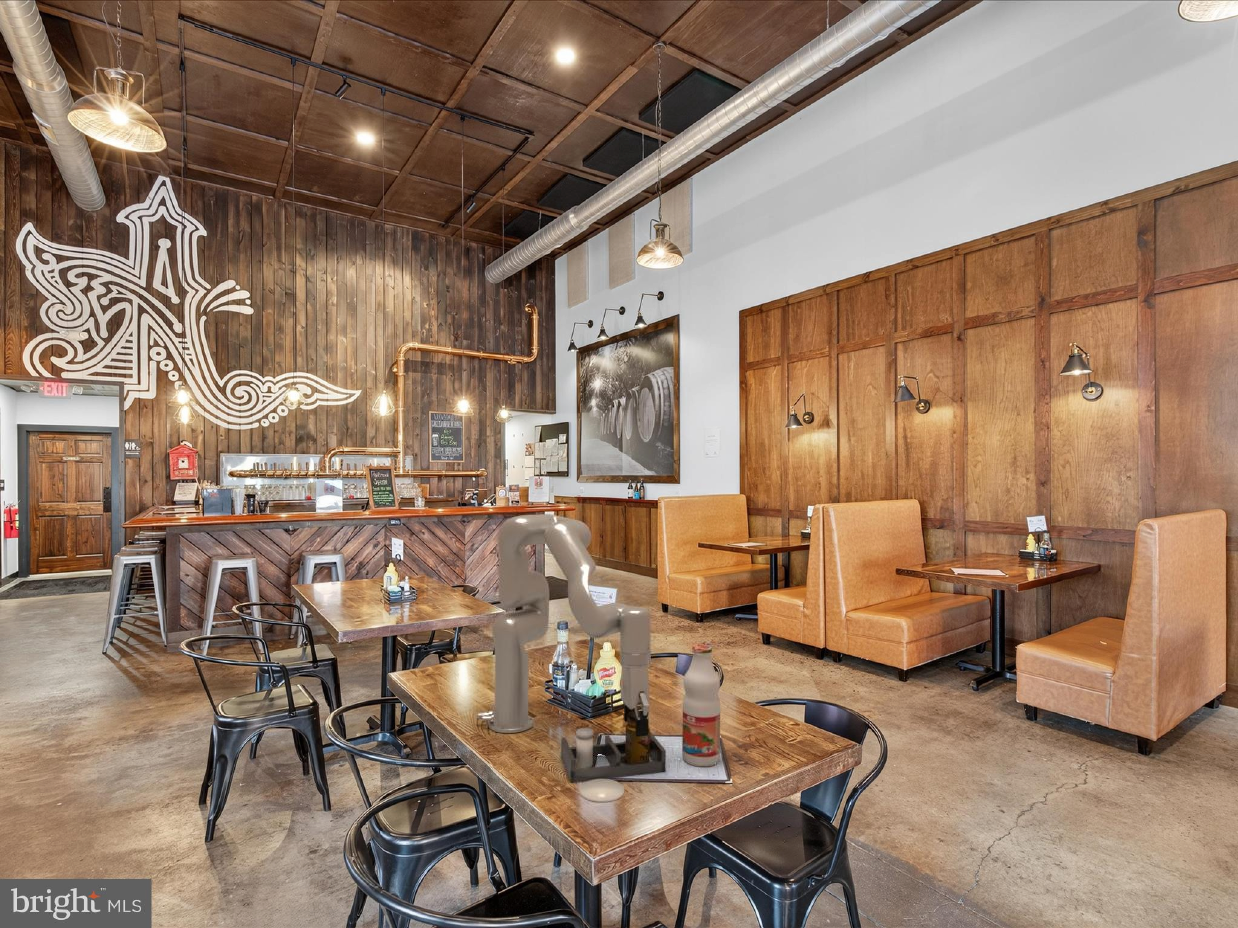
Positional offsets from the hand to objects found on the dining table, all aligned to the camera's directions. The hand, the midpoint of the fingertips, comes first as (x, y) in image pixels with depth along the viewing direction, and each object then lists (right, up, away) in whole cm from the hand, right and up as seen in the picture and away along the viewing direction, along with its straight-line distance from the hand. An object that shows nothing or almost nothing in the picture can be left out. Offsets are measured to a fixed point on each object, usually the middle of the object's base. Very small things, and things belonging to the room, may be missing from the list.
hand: (636, 728), depth 154 cm
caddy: (-6, -8, -1) cm, 10 cm away
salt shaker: (-13, -8, -1) cm, 15 cm away
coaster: (-8, -8, -14) cm, 18 cm away
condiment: (-1, -9, 0) cm, 9 cm away
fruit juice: (+16, -9, +3) cm, 19 cm away
